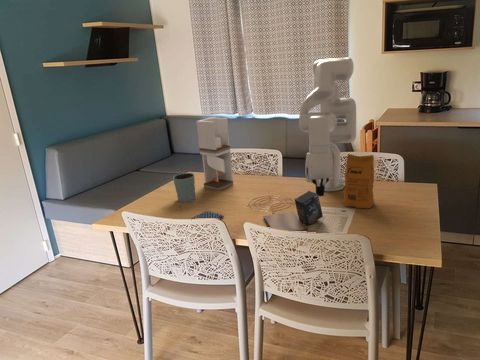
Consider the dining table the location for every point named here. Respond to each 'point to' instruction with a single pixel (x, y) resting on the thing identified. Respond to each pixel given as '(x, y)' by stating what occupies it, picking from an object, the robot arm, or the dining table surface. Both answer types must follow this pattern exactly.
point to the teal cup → (185, 187)
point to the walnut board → (285, 222)
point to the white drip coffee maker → (215, 152)
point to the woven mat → (209, 215)
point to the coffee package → (359, 181)
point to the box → (308, 208)
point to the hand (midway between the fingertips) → (320, 195)
